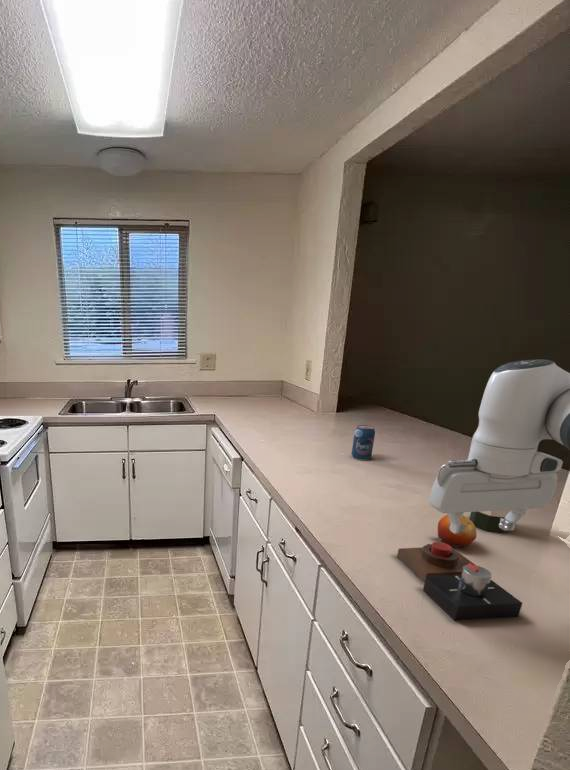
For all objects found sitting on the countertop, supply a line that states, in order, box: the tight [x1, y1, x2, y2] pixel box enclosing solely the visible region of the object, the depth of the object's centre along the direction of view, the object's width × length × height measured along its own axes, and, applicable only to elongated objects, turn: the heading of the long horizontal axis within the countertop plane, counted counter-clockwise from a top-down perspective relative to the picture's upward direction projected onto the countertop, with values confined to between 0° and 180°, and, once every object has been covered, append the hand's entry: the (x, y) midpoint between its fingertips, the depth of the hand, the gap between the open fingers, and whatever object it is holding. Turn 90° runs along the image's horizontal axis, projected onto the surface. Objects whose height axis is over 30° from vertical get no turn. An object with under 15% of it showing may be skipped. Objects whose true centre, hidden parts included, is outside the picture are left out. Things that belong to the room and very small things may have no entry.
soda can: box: [351, 424, 376, 461], centre depth 162 cm, size 7×7×12 cm
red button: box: [431, 541, 453, 557], centre depth 91 cm, size 4×4×2 cm
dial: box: [458, 563, 493, 596], centre depth 80 cm, size 4×4×4 cm
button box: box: [396, 543, 476, 584], centre depth 92 cm, size 12×10×4 cm
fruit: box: [434, 514, 477, 548], centre depth 102 cm, size 8×8×8 cm
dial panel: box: [422, 576, 523, 621], centre depth 81 cm, size 12×9×3 cm
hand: (481, 530), depth 78 cm, fingers open, 8 cm apart
